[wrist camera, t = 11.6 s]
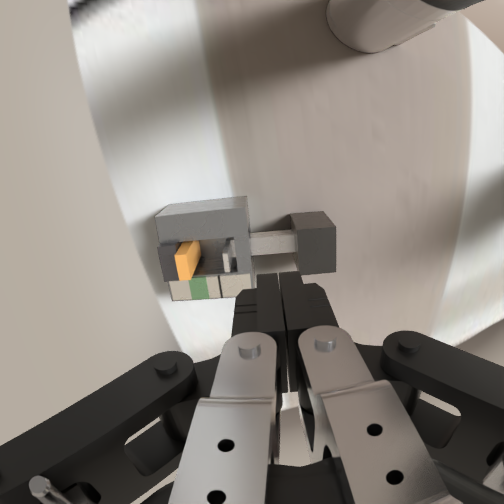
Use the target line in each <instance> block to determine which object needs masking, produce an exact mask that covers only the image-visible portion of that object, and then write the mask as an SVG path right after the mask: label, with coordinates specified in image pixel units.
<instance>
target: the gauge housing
mask: <svg viewBox="0 0 504 504" xmlns="http://www.w3.org/2000/svg"><path fill="white" fill-rule="evenodd" d="M155 221H156V227H157V232H158V237H159V242H160V244H159V245H158V247H157V249H158V254H159V259H160V263H161V268H162V273H163V277H164V282H167V281H168V285H169V290H170V294H171V299H172V301H184V300H202V299H217V298H232V297H236V296H237V295H238V294H239V293H240V292H241V291H242V290H243V289H253V288H255V271H254V261H253V256H251V250H250V240H249V233H251V232H250V222H249V212H248V202H247V196H242V197H232V198H222V199H213V200H203V201H195V202H186V203H178V204H170V205H168V206H167V207H165V208H164V209H163V210H162V211H161V212H160V213H159V214H157V215H156V216H155ZM228 237H234V244H235V252H236V257H233V258H232V263H231V269H230V272H225V269H224V262H223V255H222V254H223V250H224V246H225V242H226V239H227V238H228ZM195 240H199V243H200V250H201V257H200V259H199V261H198V264H197V266H196V268H195V271H194V273H193V276H192V278H191V280H183V281H179V276H178V271H177V266H176V261H175V256H174V255H175V254H176V252H177V251H178V249H179V247H180V246H181V244H182V243H183V242H184V241H195Z"/></svg>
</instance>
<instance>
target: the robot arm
mask: <svg viewBox="0 0 504 504" xmlns="http://www.w3.org/2000/svg"><path fill="white" fill-rule="evenodd" d="M481 1H484V0H330V1H329V3H328V5H327V9H326V18H327V21H328V25H329V27H330V29H331V30H332V32H333V33H334V34H335V36H336V37H337V38H338V39H339V40H340V41H341V42H342V43H344V44H345V45H347V46H348V47H350V48H352V49H355V50H357V51H361V52H365V53H375V52H380V51H383V50H385V49H387V48H389V47H391V46H392V45H400V44H402V43H404V42H406V41H408V40H410V39H412V38H413V37H415V36H417V35H419V34H421V33H423V32H425V31H427V30H429V29H431V28H433V27H435V25H436V22H438V21H440V20H442V19H444V18H446V17H447V16H449V15H451V14H454V13H456V12H458V11H460V10H462V9H465V8H467V7H469V6H471V5H473V4H476V3H478V2H481ZM279 285H280V289H279ZM287 369H288V377H289V386H290V392H297V391H298V396H299V414H300V418H301V422H302V427H303V431H304V435H305V439H306V444H307V448H308V452H309V457H310V462H311V464H310V465H306V466H301V467H295V466H287V465H279V453H280V426H281V408H282V402H283V401H282V393H287V392H288V381H287ZM422 391H423V392H425V393H427V394H429V395H431V396H433V397H435V398H438V399H440V400H442V401H444V402H446V403H448V404H451V405H453V406H454V407H456V408H457V409H458V410H459V411H460V413H461V416H455V415H453V414H451V413H449V412H446V411H444V410H442V409H440V408H438V407H436V406H434V405H432V404H430V403H428V402H426V401H424V400H422V399H419V397H420V394H421V392H422ZM158 417H159V418H160V421H159V422H157V423H156V424H155V425H153V426H152V427H150V428H149V429H148V430H146V431H145V432H143V433H142V434H141V435H139V436H138V437H137V438H135V439H133V440H132V441H131V442H129V443H128V444H126V445H125V442H126V441H127V439H128V438H129V437H131V436H132V435H133V434H135V433H136V432H138V431H139V430H141V429H142V428H144V427H145V426H146V425H148V424H149V423H150V422H152V421H153V420H155V419H156V418H158ZM177 468H178V471H177V474H176V478H175V481H173V482H171V483H169V484H167V485H165V486H164V487H162V488H160V489H159V490H157V491H156V492H155V493H153V494H152V495H151V496H149V497H148V498H147V499H146V500H144V501H143V502H142V503H140V504H504V367H503V366H500V365H498V364H495V363H493V362H490V361H487V360H485V359H483V358H480V357H478V356H475V355H473V354H470V353H468V352H465V351H463V350H460V349H458V348H455V347H453V346H450V345H448V344H445V343H443V342H440V341H438V340H435V339H433V338H431V337H428V336H426V335H423V334H421V333H418V332H414V331H398V332H394V333H392V334H390V335H389V336H387V337H386V338H385V340H384V342H383V346H371V345H362V344H358V343H355V342H353V340H352V338H351V336H350V335H349V334H348V333H347V332H346V331H345V330H343V329H341V328H339V326H338V323H337V320H336V318H335V315H334V313H333V310H332V308H331V306H330V303H329V300H328V299H327V295H326V293H325V290H324V289H323V288H322V287H320V286H319V285H318V284H316V283H310V284H303V281H302V278H301V274H300V271H292V272H280V273H279V282H278V275H277V273H269V274H257V288H253V289H243V290H242V291H241V292H240V293H239V294H238V295H237V296H236V300H235V309H234V318H233V326H232V335H231V338H230V339H229V340H227V341H226V342H225V344H224V346H223V348H222V352H221V354H220V355H219V356H217V357H214V358H212V359H209V360H205V361H201V362H197V363H193V360H192V359H191V357H190V356H188V355H187V354H185V353H182V352H178V351H167V352H162V353H158V354H156V355H154V356H152V357H150V358H149V359H147V360H145V361H144V362H142V363H141V364H139V365H137V366H136V367H134V368H133V369H131V370H129V371H128V372H126V373H124V374H123V375H121V376H120V377H118V378H116V379H115V380H113V381H112V382H110V383H108V384H106V385H105V386H103V387H101V388H100V389H98V390H97V391H95V392H93V393H92V394H90V395H88V396H87V397H85V398H83V399H81V400H80V401H78V402H76V403H75V404H73V405H71V406H70V407H68V408H66V409H65V410H63V411H61V412H59V413H58V414H56V415H54V416H52V417H51V418H49V419H48V420H46V421H44V422H43V423H40V424H39V425H37V426H35V427H33V428H32V429H30V430H28V431H26V432H25V433H23V434H21V435H19V436H17V437H16V438H14V439H12V440H10V441H8V442H7V443H5V444H3V445H1V446H0V504H130V503H132V502H133V501H135V500H136V499H137V498H139V497H140V496H142V495H143V494H144V493H146V492H147V491H149V490H150V489H151V488H153V487H154V486H155V485H157V484H158V483H159V482H161V481H162V480H163V479H165V478H166V477H167V476H168V475H170V474H171V473H172V472H174V471H175V470H176V469H177Z"/></svg>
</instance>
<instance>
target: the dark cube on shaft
mask: <svg viewBox="0 0 504 504" xmlns="http://www.w3.org/2000/svg"><path fill="white" fill-rule="evenodd" d="M290 218H291V230H280V231H268V232H257V233H249V240H250V250H251V256H253V255H265V254H277V253H288V252H292V253H293V256H294V260H295V263H296V267H297V270H298V271H300V274H301V275H311V274H321V273H332V272H336V226H335V225H334V224H333V222H332V221H331V220H330V219H329V218H328V216H327V215H326V214H325V213H324V212H323V211H320V212H306V213H293V214H290ZM222 255H223V262H224V269H225V272H230V269H231V263H232V258H233V257H236V252H235V244H234V237H228V238H227V239H226V242H225V246H224V250H223V254H222Z"/></svg>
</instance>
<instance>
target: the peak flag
mask: <svg viewBox="0 0 504 504" xmlns="http://www.w3.org/2000/svg"><path fill="white" fill-rule="evenodd" d="M174 256H175V261H176V266H177V271H178V276H179V281H183V280H191V278H192V276H193V273H194V271H195V268H196V266H197V264H198V261H199V259H200V257H201V250H200V243H199V240H195V241H184V242H183V243H182V244H181V246H180V247H179V249H178V251H177V252H176V254H175V255H174Z"/></svg>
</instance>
